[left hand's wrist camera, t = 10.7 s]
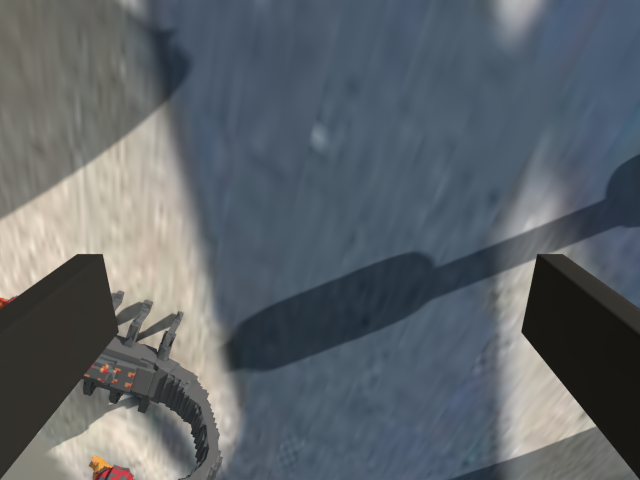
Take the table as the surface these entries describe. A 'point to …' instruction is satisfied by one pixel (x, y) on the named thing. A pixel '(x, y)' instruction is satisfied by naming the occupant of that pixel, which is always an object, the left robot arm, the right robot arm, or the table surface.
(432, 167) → the table surface
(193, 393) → the toy
